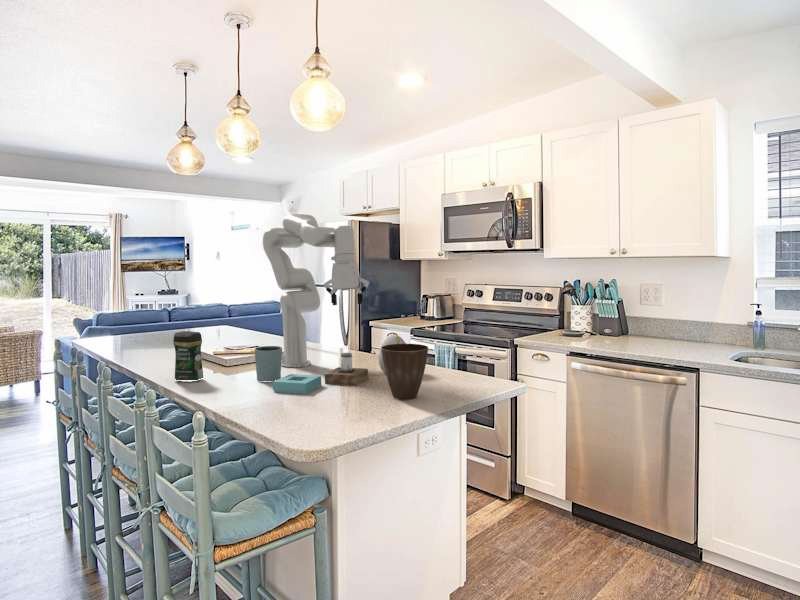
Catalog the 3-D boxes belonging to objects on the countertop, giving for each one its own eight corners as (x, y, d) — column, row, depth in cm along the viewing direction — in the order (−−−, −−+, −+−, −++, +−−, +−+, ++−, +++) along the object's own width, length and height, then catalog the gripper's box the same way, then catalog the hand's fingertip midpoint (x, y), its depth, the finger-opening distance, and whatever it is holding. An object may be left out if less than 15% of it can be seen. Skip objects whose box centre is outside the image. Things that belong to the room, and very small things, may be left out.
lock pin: (339, 381, 183) (339, 354, 182) (344, 379, 187) (343, 352, 186) (350, 382, 182) (349, 354, 181) (354, 379, 186) (353, 352, 185)
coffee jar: (170, 382, 185) (168, 332, 184) (185, 377, 193) (182, 329, 192) (193, 383, 183) (191, 333, 182) (207, 378, 191) (205, 330, 189)
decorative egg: (407, 376, 190) (407, 337, 189) (375, 375, 192) (375, 336, 191) (412, 369, 202) (411, 332, 201) (382, 369, 204) (381, 332, 203)
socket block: (273, 391, 169) (273, 381, 169) (290, 383, 181) (290, 374, 180) (305, 394, 166) (305, 383, 166) (321, 385, 177) (321, 375, 177)
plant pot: (428, 390, 167) (427, 343, 166) (429, 403, 153) (428, 350, 151) (383, 391, 168) (382, 343, 167) (380, 403, 153) (379, 351, 152)
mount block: (324, 383, 180) (324, 373, 180) (338, 376, 192) (338, 367, 191) (356, 385, 177) (356, 375, 176) (368, 377, 188) (367, 368, 188)
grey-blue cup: (265, 376, 194) (264, 345, 193) (288, 377, 191) (287, 346, 190) (249, 382, 184) (248, 349, 184) (273, 383, 181) (272, 350, 180)
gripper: (319, 260, 186) (322, 306, 187) (365, 257, 183) (367, 304, 184) (325, 260, 194) (328, 305, 194) (369, 258, 191) (371, 303, 192)
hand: (347, 304), depth 189 cm, fingers open, 9 cm apart
